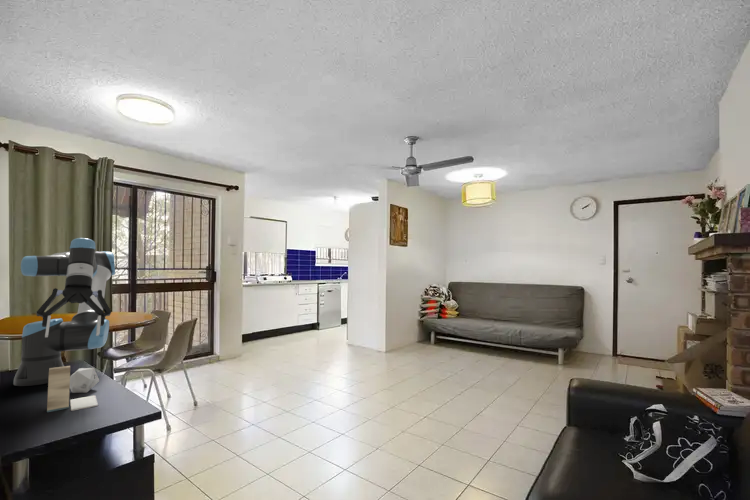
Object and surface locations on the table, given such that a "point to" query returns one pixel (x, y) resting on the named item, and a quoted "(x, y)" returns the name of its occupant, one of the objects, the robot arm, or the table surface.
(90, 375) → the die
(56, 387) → the block
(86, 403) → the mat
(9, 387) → the table surface
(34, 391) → the table surface
